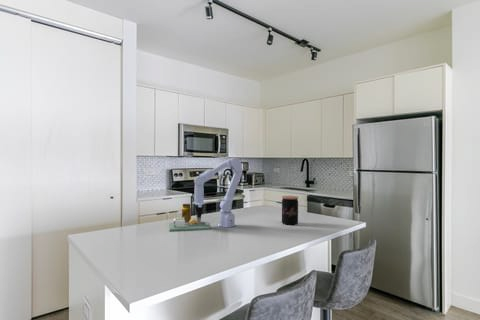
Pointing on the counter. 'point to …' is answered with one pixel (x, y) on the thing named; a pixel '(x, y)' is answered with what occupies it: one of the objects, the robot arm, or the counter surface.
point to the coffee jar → (290, 210)
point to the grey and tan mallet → (198, 220)
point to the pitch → (190, 227)
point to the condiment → (186, 212)
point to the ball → (192, 221)
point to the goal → (179, 222)
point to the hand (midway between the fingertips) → (198, 216)
